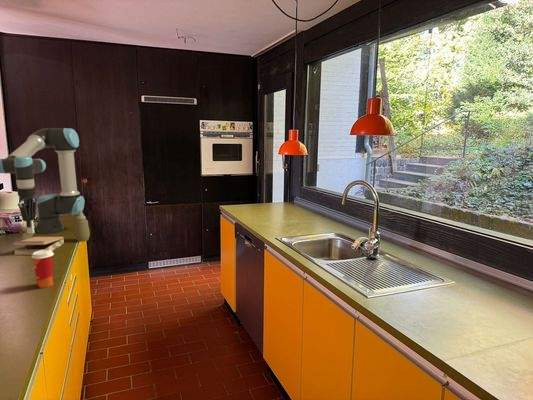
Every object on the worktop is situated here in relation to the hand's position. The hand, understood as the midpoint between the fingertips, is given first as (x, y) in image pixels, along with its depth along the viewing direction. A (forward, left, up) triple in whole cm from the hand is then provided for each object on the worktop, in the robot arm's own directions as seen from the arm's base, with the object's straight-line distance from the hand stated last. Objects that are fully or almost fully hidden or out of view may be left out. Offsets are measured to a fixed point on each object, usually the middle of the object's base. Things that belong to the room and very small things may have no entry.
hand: (30, 232), depth 191 cm
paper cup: (+43, +28, -11) cm, 53 cm away
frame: (-8, 0, -11) cm, 13 cm away
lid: (-8, 0, -7) cm, 10 cm away
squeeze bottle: (-24, +15, -11) cm, 30 cm away
